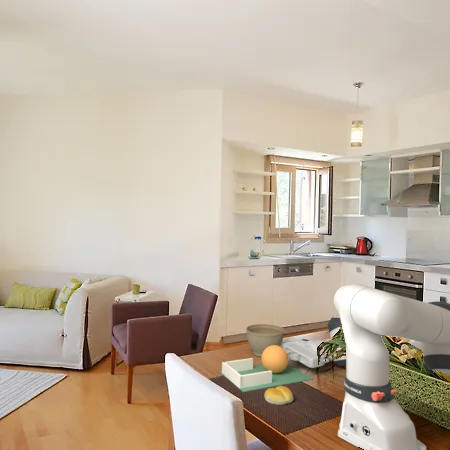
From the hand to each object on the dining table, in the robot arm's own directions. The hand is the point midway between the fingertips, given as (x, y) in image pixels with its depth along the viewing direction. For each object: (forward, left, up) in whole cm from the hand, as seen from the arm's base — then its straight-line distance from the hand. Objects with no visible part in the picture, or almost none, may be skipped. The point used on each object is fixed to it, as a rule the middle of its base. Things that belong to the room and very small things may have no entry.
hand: (284, 356), depth 155 cm
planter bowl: (+20, -2, -5) cm, 20 cm away
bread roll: (-21, +15, -6) cm, 26 cm away
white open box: (-1, +17, -5) cm, 17 cm away
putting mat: (-1, +10, -5) cm, 11 cm away
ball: (-1, +5, 0) cm, 5 cm away
